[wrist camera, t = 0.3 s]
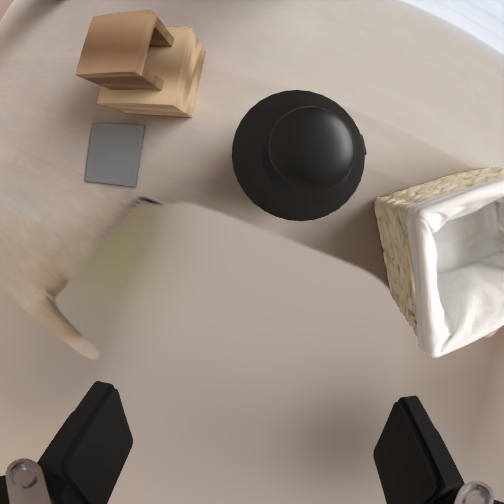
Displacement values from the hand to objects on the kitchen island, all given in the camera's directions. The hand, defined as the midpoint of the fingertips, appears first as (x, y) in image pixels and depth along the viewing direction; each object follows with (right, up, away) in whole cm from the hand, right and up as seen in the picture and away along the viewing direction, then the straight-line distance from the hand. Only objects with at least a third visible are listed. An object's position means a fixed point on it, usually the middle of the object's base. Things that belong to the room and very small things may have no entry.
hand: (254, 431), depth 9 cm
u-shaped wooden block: (-11, +25, +17) cm, 32 cm away
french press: (+4, +17, +27) cm, 32 cm away
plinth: (-11, +27, +25) cm, 38 cm away
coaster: (-18, +19, +27) cm, 38 cm away
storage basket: (+27, +9, +28) cm, 40 cm away
